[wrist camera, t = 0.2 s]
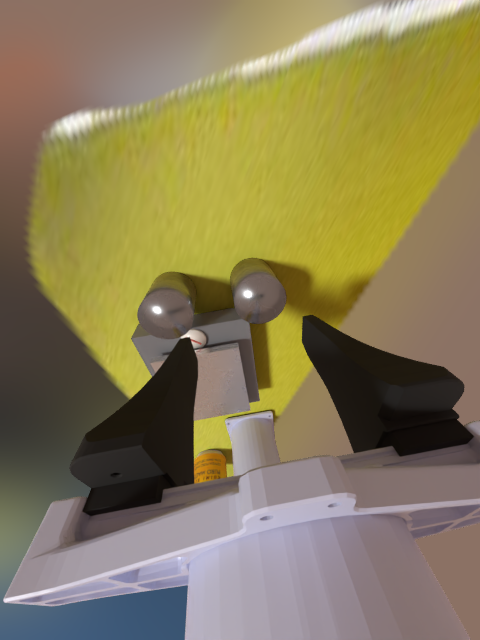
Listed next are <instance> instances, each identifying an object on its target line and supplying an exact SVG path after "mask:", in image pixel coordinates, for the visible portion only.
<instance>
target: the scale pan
mask: <svg viewBox="0 0 480 640" xmlns="http://www.w3.org/2000/svg"><path fill="white" fill-rule="evenodd" d="M194 351H195V353H196V356H197V359H198V381H197V389H196V398H195V406H194V421H195V420H200V419H206V418H211V417H216V416H222V415H227V414H233V413H238V412H244V411H249V410H250V405H249V400H248V394H247V389H246V383H245V378H244V373H243V367H242V362H241V356H240V351H239V345H238V343H232V344H227V345H221V346H215V347H210V348H204V349H198V350H194ZM168 356H169V355H165V356H159V357H153V358H152V360H151V363H150V364H151V366H152V367H153V369H154V371H155V373H156V372H157V371H158V369H159V368H160V367H161V366H162V364H163V363H164V361H165V360H166V359H167V357H168Z"/></svg>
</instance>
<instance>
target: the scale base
mask: <svg viewBox="0 0 480 640" xmlns="http://www.w3.org/2000/svg"><path fill="white" fill-rule="evenodd" d="M186 337H190V339H191V342H192V345H193V348H194V350H198V349H204V348H210V347H215V346H221V345H227V344H232V343H238V345H239V351H240V356H241V362H242V367H243V373H244V378H245V383H246V389H247V394H248V400H249V403H251V402H256V401H260V399H259V392H258V384H257V377H256V369H255V362H254V354H253V347H252V340H251V332H250V325H249V322H247V321H245V320H243V319H242V318H241V317H240V316H239V315H238V314H237V312H236V310H235V308H230V309H224V310H218V311H213V312H207V313H201V314H195V315H194V317H193V323H192V327H191V329H190V330H189V331H188V332H187V333H186V334H185V335H183V336H182V337H179V338H176V339H161V338H157V337H155V336H152V335H151V334H149V333H148V332H146V331H145V330H144V329H143V328H142V326H141V325H140V324H138V326H137V328H136V330H135V332H134V334H133V336H132V338H131V339H132V341H133V343H134V345H135V347H136V348H137V350H138V352H139V354H140V356H141V357H142V359H143V361H144V363H145V365H146V366H147V368H148V370H149V372H150V374H151V375H152V377H153V376H154V374H155V371H154V369H153V367H152V366H151V364H150V363H151V360H152V358H153V357H159V356H165V355H169V354H170V353H171V351H172V350H173V348H174V347H175V345H176V344H177V342H178V341H179V339H181V338H186Z"/></svg>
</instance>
